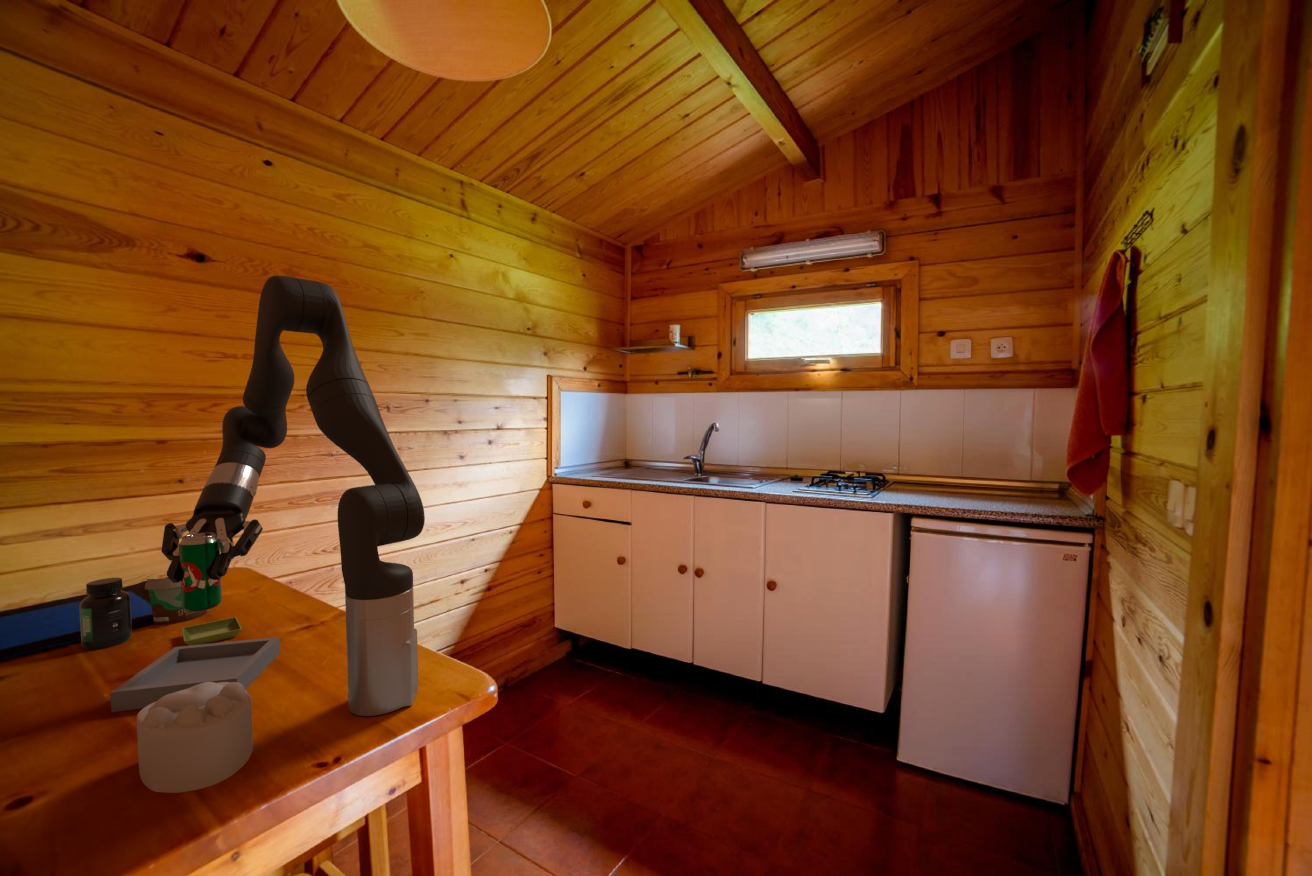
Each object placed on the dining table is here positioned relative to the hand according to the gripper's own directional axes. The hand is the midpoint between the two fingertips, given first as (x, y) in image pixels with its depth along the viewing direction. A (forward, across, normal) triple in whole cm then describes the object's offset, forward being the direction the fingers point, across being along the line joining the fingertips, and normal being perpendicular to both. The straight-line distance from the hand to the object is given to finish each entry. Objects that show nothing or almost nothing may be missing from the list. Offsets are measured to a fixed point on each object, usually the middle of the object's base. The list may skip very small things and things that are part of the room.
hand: (194, 578), depth 87 cm
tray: (+11, 0, +14) cm, 18 cm away
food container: (-12, -18, +37) cm, 43 cm away
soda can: (+3, 0, +5) cm, 6 cm away
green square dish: (-2, -8, +28) cm, 29 cm away
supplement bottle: (-4, -26, +29) cm, 39 cm away
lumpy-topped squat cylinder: (+29, +11, -4) cm, 31 cm away
